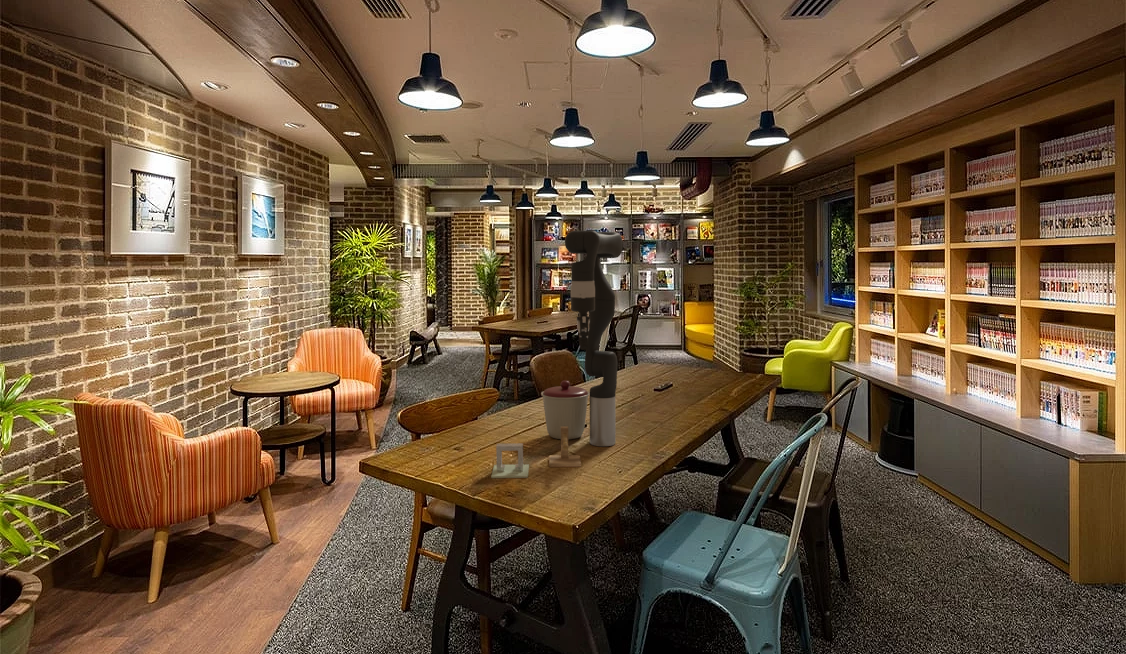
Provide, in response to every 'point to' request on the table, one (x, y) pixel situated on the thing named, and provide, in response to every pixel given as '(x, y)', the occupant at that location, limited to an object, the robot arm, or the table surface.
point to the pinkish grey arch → (509, 447)
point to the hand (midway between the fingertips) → (583, 347)
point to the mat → (510, 472)
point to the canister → (565, 409)
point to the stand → (564, 454)
